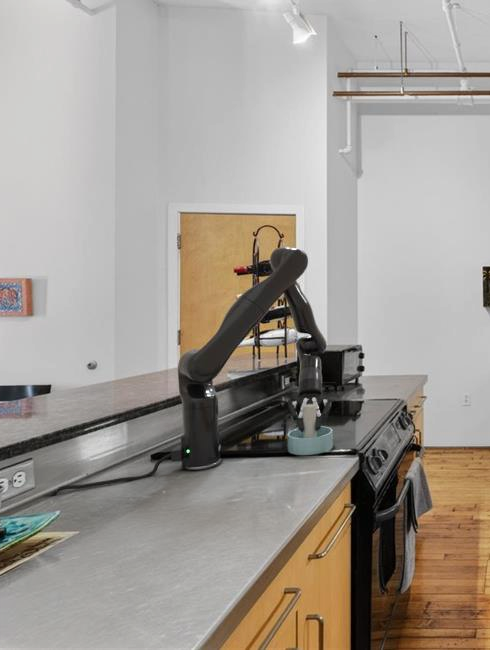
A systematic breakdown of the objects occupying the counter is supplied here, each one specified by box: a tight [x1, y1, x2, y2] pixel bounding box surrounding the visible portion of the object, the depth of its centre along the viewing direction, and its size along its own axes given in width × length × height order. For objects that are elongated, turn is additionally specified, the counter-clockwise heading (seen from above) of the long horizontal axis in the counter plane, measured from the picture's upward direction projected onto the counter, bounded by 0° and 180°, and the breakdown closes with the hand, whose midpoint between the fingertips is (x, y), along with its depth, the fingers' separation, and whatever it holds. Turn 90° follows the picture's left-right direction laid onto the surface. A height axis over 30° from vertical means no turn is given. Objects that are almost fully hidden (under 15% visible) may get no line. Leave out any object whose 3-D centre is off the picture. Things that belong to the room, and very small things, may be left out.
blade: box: [303, 404, 317, 438], centre depth 146 cm, size 10×9×13 cm
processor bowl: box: [286, 425, 334, 456], centre depth 146 cm, size 14×14×6 cm
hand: (309, 430), depth 144 cm, fingers closed on blade, 4 cm apart
